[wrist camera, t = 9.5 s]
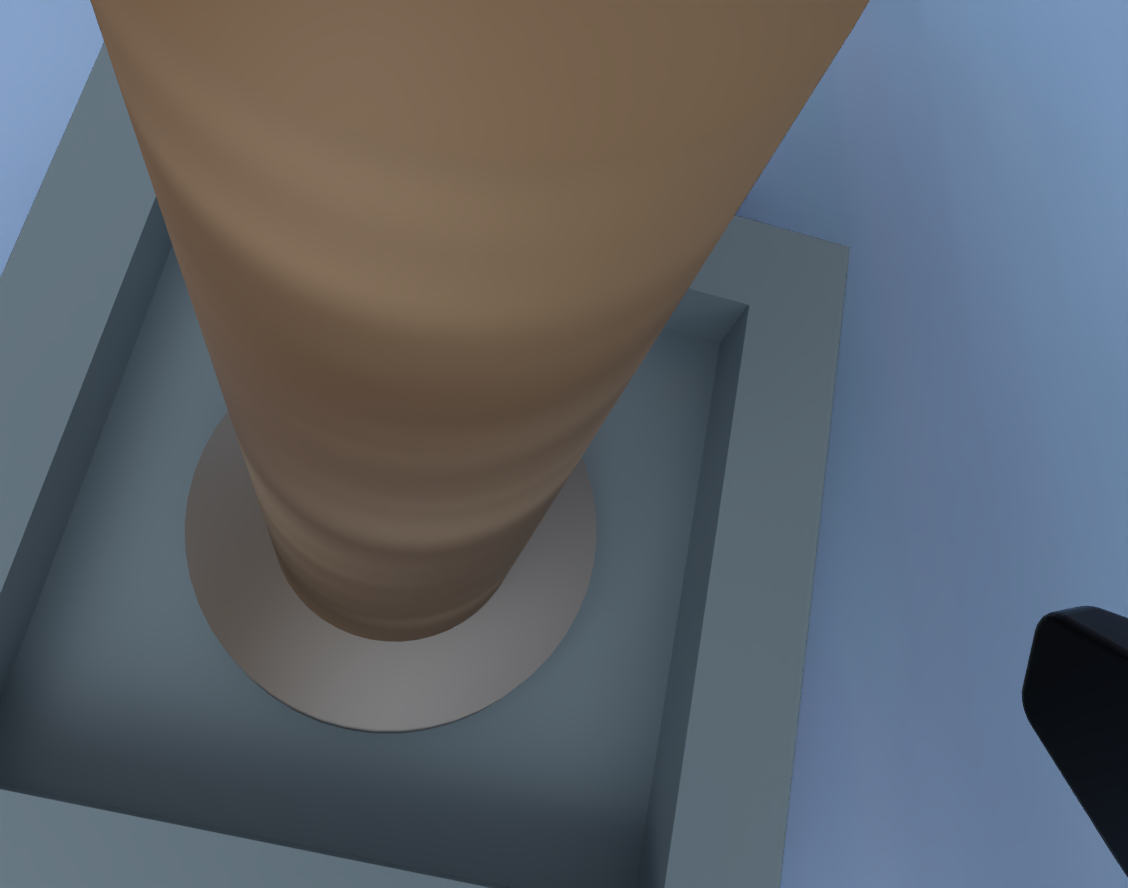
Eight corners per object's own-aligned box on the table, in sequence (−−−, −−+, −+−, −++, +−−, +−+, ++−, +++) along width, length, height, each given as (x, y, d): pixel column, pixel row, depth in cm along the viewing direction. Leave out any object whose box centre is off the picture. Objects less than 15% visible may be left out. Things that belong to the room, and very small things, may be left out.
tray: (793, 311, 20) (850, 247, 18) (700, 1039, 16) (758, 1079, 14) (136, 134, 19) (105, 40, 17) (-169, 875, 15) (-269, 888, 12)
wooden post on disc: (651, 495, 17) (1304, -204, 5) (442, 816, 15) (748, 856, 3) (356, 292, 18) (345, -817, 6) (107, 581, 16) (-790, -221, 3)
